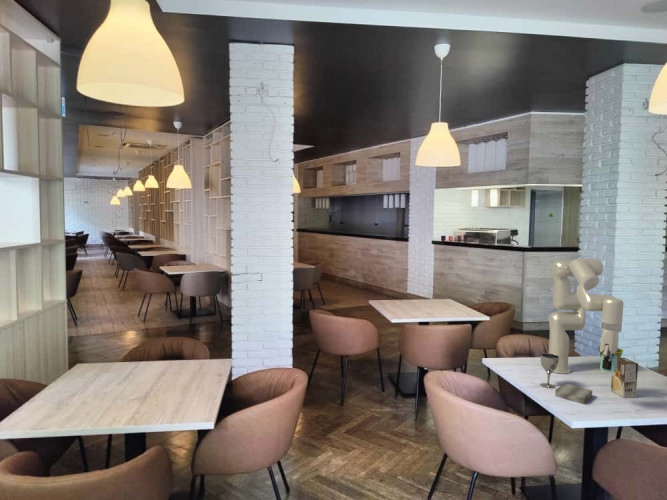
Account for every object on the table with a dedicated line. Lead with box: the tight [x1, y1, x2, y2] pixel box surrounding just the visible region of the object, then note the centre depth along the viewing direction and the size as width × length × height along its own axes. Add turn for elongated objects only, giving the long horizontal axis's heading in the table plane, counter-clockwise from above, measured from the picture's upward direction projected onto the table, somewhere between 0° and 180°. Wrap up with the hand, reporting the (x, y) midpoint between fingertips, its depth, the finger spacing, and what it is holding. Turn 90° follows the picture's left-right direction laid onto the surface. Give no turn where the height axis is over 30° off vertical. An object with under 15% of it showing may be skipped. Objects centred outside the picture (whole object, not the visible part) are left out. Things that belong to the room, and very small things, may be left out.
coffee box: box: [610, 357, 639, 399], centre depth 211 cm, size 9×6×16 cm
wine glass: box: [539, 352, 559, 390], centre depth 219 cm, size 8×8×15 cm
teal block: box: [599, 355, 617, 373], centre depth 196 cm, size 5×5×6 cm
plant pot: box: [597, 346, 624, 358], centre depth 246 cm, size 12×12×11 cm
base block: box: [554, 383, 593, 405], centre depth 207 cm, size 12×12×3 cm
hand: (608, 367), depth 197 cm, fingers closed on teal block, 4 cm apart
